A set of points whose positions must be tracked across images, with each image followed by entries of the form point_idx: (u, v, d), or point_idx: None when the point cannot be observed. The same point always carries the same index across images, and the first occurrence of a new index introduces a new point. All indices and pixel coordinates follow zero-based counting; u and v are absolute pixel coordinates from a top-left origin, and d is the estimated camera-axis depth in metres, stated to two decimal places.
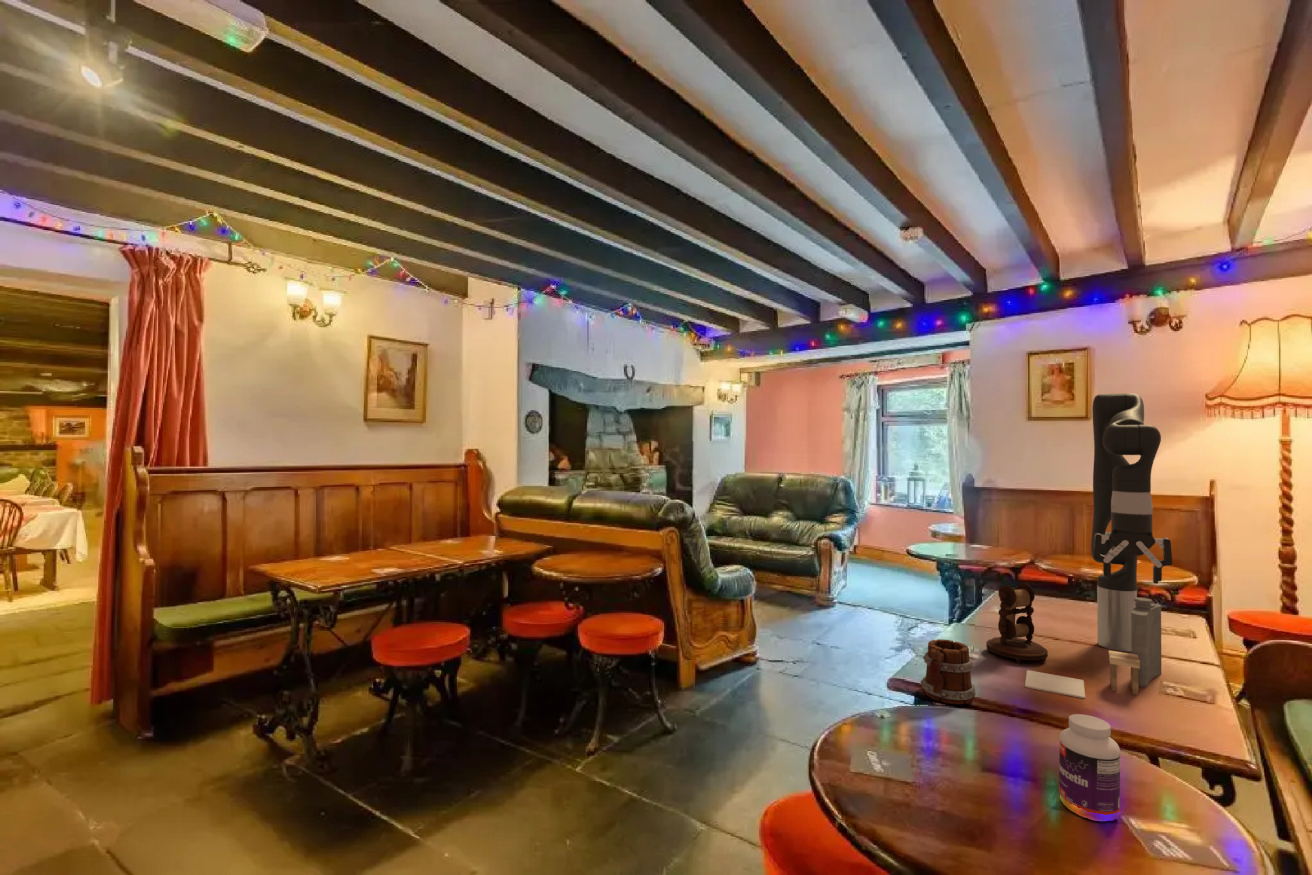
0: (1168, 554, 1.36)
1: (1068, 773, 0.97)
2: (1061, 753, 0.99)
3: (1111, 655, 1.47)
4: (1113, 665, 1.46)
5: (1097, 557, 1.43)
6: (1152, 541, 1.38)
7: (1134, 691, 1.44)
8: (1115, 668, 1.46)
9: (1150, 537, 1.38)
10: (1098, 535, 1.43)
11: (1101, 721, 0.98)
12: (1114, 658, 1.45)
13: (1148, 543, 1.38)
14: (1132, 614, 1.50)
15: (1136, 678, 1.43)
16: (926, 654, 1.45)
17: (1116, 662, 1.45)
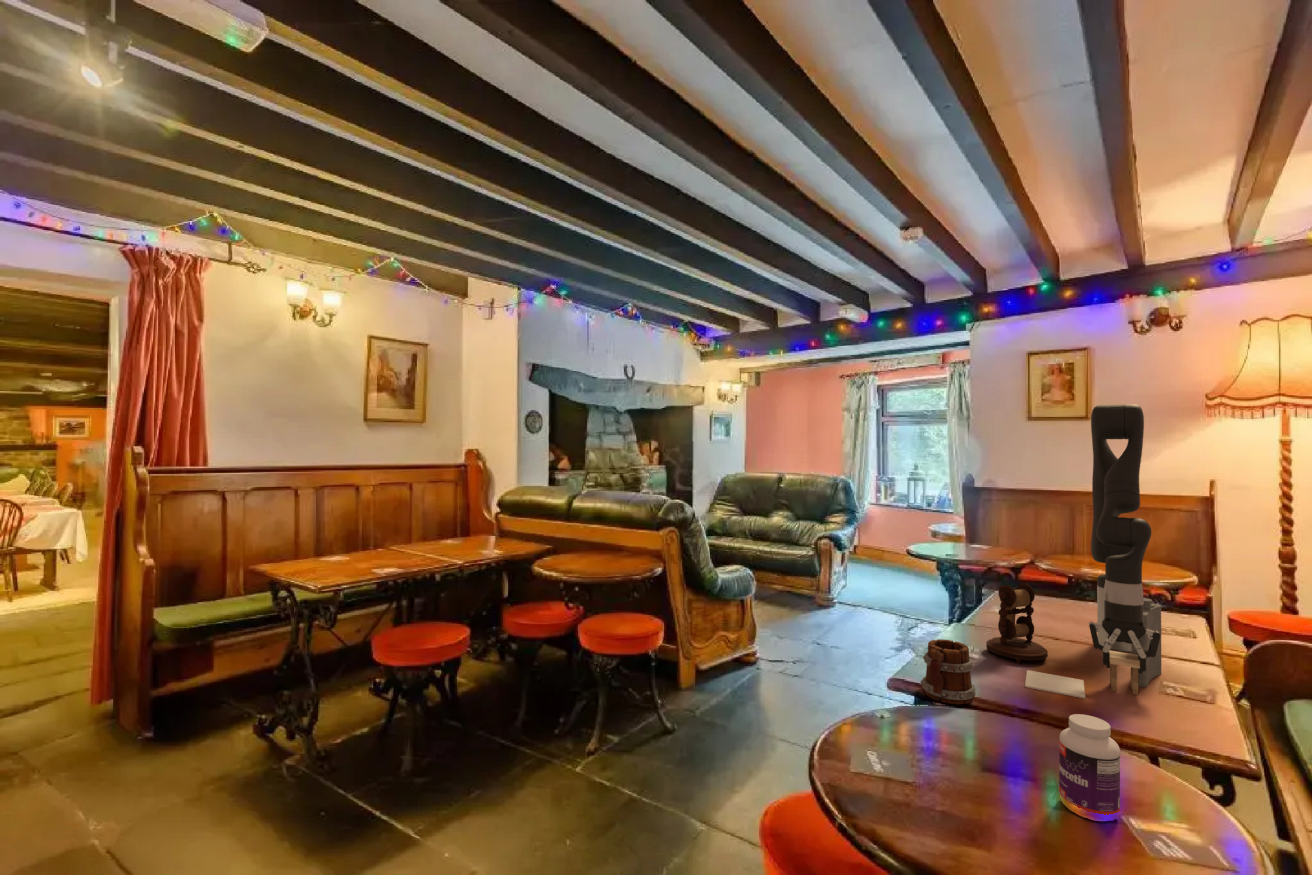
0: (1154, 647, 1.43)
1: (1068, 773, 0.97)
2: (1061, 753, 0.99)
3: (1111, 655, 1.47)
4: (1113, 665, 1.46)
5: (1097, 646, 1.49)
6: (1143, 631, 1.44)
7: (1134, 691, 1.44)
8: (1115, 668, 1.46)
9: (1142, 627, 1.44)
10: (1091, 625, 1.49)
11: (1101, 721, 0.98)
12: (1114, 658, 1.45)
13: (1138, 632, 1.44)
14: None
15: (1136, 678, 1.43)
16: (926, 654, 1.45)
17: (1116, 662, 1.45)
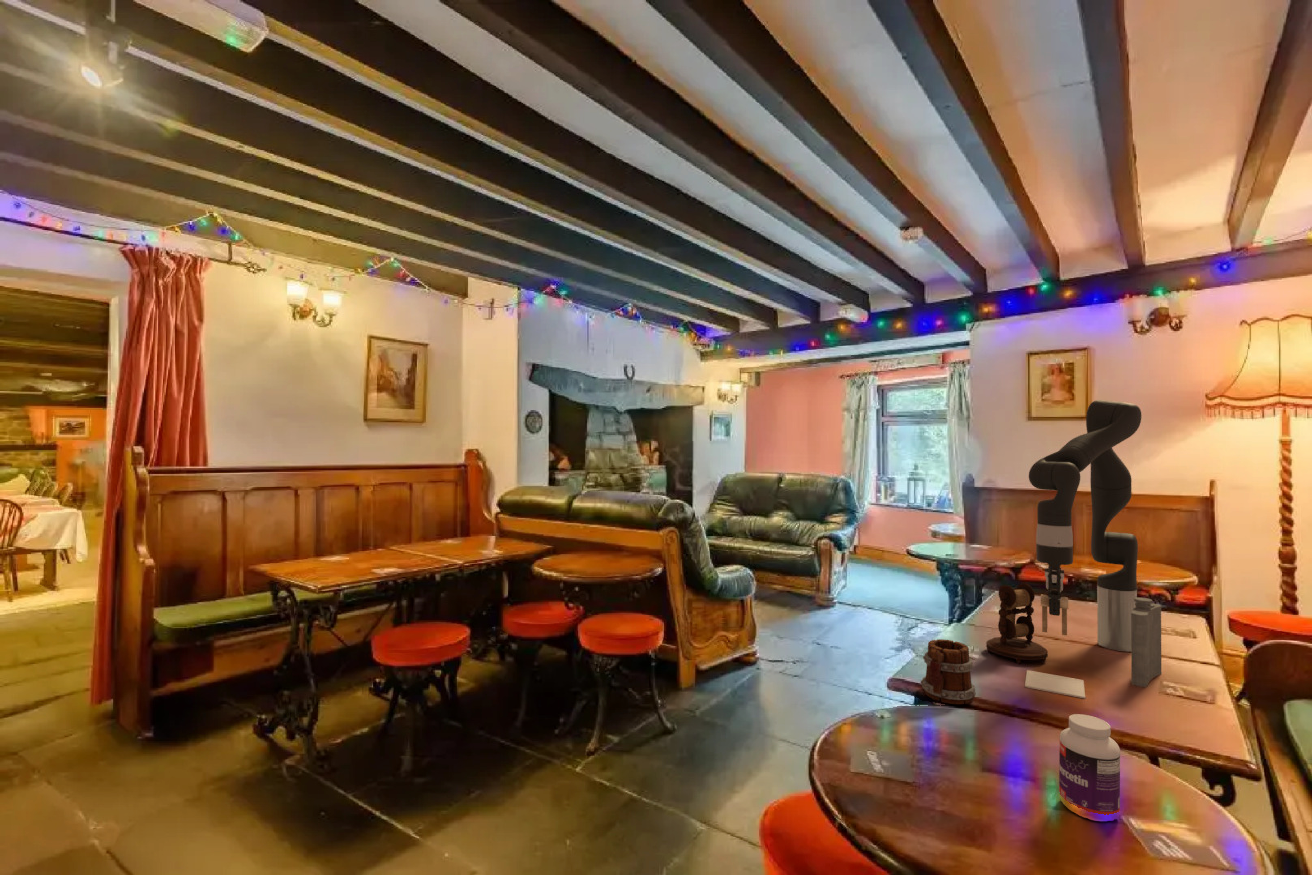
0: (1048, 587, 1.45)
1: (1068, 773, 0.97)
2: (1061, 753, 0.99)
3: None
4: None
5: None
6: (1049, 572, 1.46)
7: (1042, 628, 1.48)
8: None
9: (1049, 568, 1.46)
10: None
11: (1101, 721, 0.98)
12: (1041, 595, 1.52)
13: (1049, 573, 1.47)
14: (1132, 614, 1.50)
15: None
16: (926, 654, 1.45)
17: None
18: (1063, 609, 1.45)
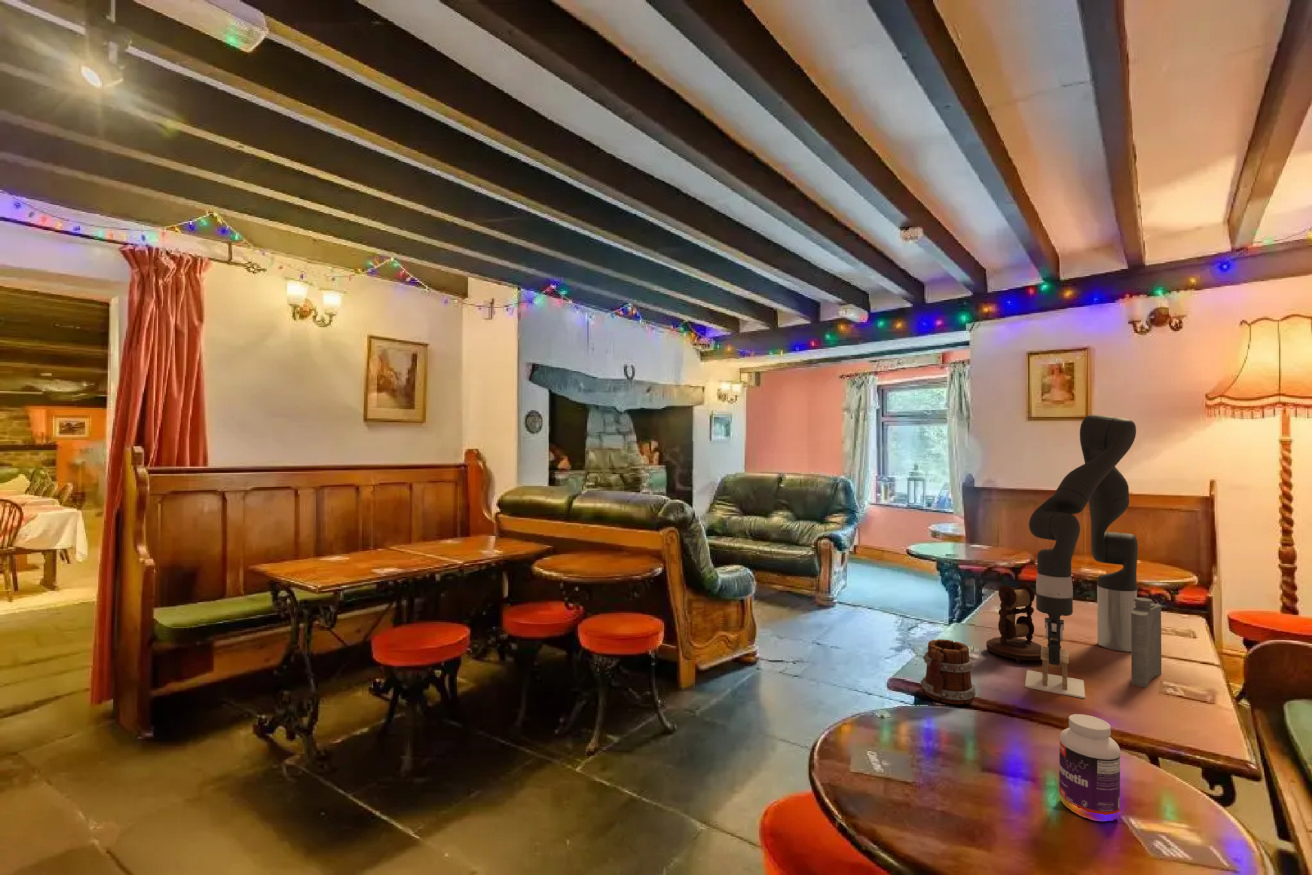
0: (1048, 636, 1.44)
1: (1068, 773, 0.97)
2: (1061, 753, 0.99)
3: None
4: None
5: None
6: None
7: (1042, 681, 1.48)
8: None
9: (1048, 618, 1.46)
10: None
11: (1101, 721, 0.98)
12: None
13: None
14: (1132, 614, 1.50)
15: None
16: (926, 654, 1.45)
17: None
18: (1063, 663, 1.45)
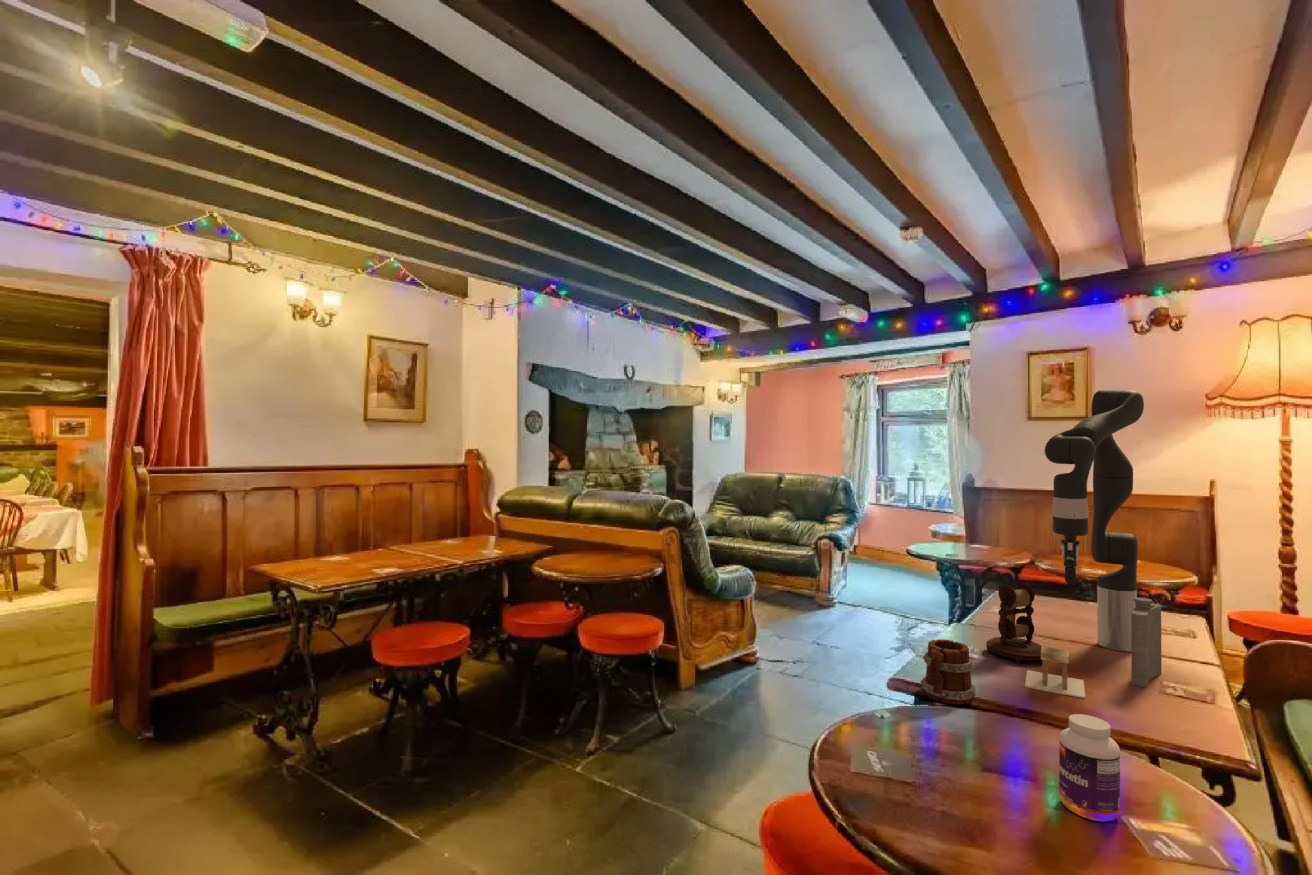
0: (1064, 555, 1.50)
1: (1068, 773, 0.97)
2: (1061, 753, 0.99)
3: (1048, 647, 1.51)
4: None
5: None
6: None
7: (1042, 681, 1.48)
8: None
9: (1065, 539, 1.52)
10: None
11: (1101, 721, 0.98)
12: None
13: None
14: (1132, 614, 1.50)
15: None
16: (926, 654, 1.45)
17: None
18: (1063, 663, 1.45)
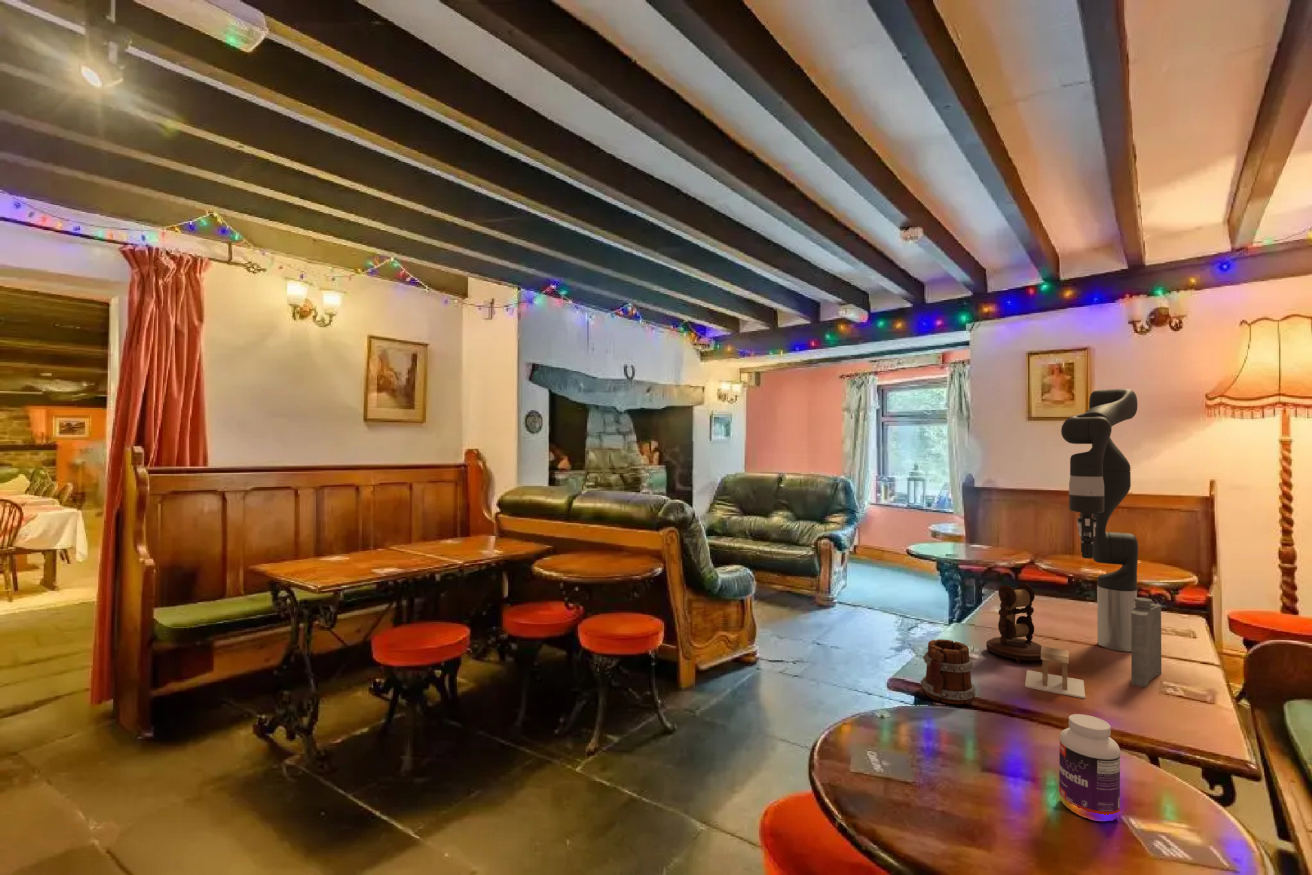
0: (1081, 531, 1.54)
1: (1068, 773, 0.97)
2: (1061, 753, 0.99)
3: (1048, 647, 1.51)
4: None
5: None
6: None
7: (1042, 681, 1.48)
8: None
9: (1081, 516, 1.56)
10: (1080, 514, 1.64)
11: (1101, 721, 0.98)
12: None
13: (1081, 521, 1.56)
14: (1132, 614, 1.50)
15: None
16: (926, 654, 1.45)
17: None
18: (1063, 663, 1.45)
